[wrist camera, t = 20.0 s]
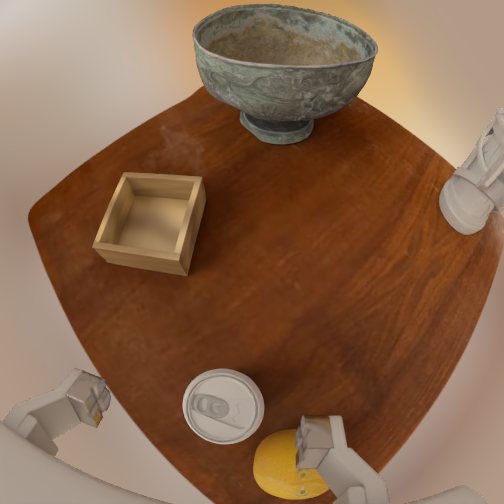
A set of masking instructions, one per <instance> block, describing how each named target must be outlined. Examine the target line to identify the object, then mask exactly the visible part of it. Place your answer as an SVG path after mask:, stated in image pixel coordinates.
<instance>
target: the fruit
mask: <svg viewBox="0 0 504 504" xmlns="http://www.w3.org/2000/svg"><path fill="white" fill-rule="evenodd" d="M296 432H297V429H287V430H282V431H278V432H275V433H273V434H271V435H269V436H267V437H266V438H265V439H264V440H263V441H262V442H261V443H260V444H259V446H258V448H257V450H256V453H255V458H254V466H253V473H254V477H255V480H256V482H257V483H258V485H259V486H260V487H261V488H262V489H263V490H264V491H266V492H268V493H269V494H272V495H274V496H277V497H280V498H285V499H307V498H312V497H315V496H318V495H320V494H322V493H324V492H326V491H327V490H329V489H330V488H329V486H328V485H327V484H326V482H325V481H324V480H323V478H322V477H321V476H320V474H319V473H318V471H317V470H316V469H299V468H296V456H295V455H296V453H297V451H298V449H297V448H296V447H295V437H296Z"/></svg>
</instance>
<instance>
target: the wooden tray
mask: <svg viewBox="0 0 504 504" xmlns="http://www.w3.org/2000/svg"><path fill="white" fill-rule="evenodd" d="M206 199H207V198H206V193H205V188H204V183H203V178H202V177H196V176H183V175H167V174H149V173H123V175H122V177H121V179H120V182H119V184H118V186H117V188H116V190H115V192H114V195H113V197H112V199H111V201H110V204H109V206H108V209H107V211H106V213H105V216H104V218H103V221H102V223H101V226H100V228H99V231H98V234H97V236H96V239H95V242H94V244H93V248H94V249H95V250H96V251H97V252H98V253H99V254H100V255H101V256H102V257H103V258H104V259H105V260H106V261H107V262H108V263H113V264H118V265H124V266H130V267H135V268H141V269H147V270H153V271H159V272H165V273H171V274H177V275H184V276H187V275H188V271H189V267H190V262H191V258H192V254H193V250H194V246H195V242H196V238H197V234H198V230H199V226H200V222H201V218H202V214H203V211H204V207H205V203H206Z"/></svg>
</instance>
